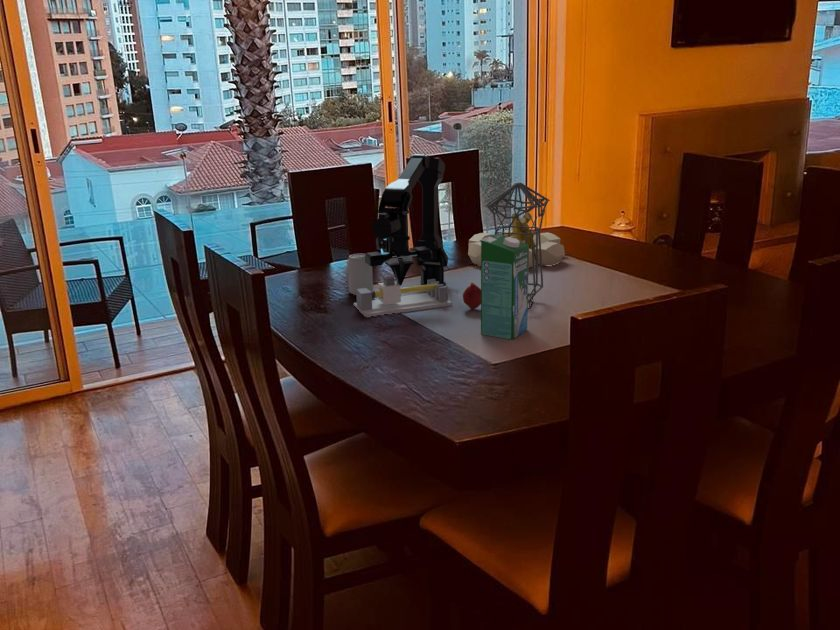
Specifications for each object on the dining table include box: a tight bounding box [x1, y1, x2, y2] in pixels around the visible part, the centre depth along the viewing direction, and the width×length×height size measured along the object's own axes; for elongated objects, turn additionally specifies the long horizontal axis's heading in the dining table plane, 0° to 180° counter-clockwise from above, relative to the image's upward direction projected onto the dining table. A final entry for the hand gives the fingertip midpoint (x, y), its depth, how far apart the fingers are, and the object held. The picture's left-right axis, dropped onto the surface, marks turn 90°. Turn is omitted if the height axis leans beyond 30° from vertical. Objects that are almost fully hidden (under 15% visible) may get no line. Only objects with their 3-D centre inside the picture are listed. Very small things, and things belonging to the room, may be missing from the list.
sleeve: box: [377, 275, 402, 304], centre depth 218 cm, size 5×5×7 cm
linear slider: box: [353, 279, 453, 318], centre depth 220 cm, size 26×12×6 cm, turn 111°
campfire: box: [467, 212, 566, 269], centre depth 270 cm, size 35×34×17 cm
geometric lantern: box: [485, 182, 551, 307], centre depth 215 cm, size 16×16×35 cm
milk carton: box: [480, 233, 530, 341], centre depth 193 cm, size 9×9×25 cm
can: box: [347, 253, 374, 296], centre depth 233 cm, size 8×8×12 cm
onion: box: [462, 281, 481, 311], centre depth 215 cm, size 6×6×8 cm
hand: (399, 285), depth 219 cm, fingers closed
